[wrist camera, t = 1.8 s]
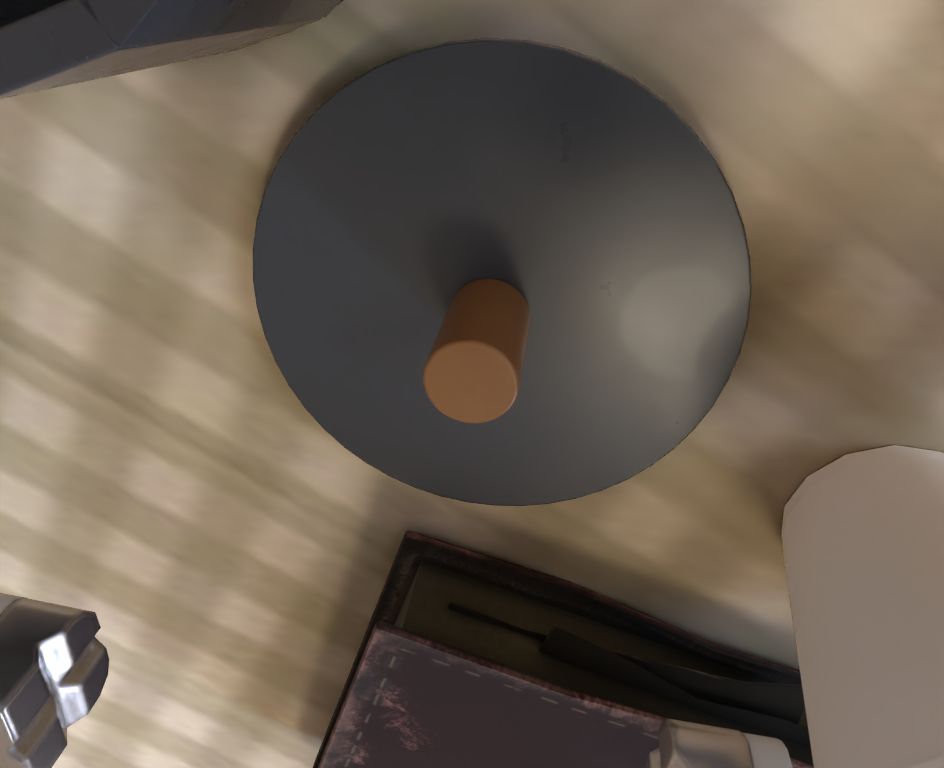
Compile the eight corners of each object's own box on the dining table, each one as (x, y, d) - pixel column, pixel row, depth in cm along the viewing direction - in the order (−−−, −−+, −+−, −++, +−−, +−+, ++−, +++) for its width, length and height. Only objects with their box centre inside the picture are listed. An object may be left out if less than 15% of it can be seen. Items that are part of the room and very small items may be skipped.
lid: (820, 73, 17) (902, 107, 12) (672, 515, 24) (690, 634, 20) (251, 4, 18) (142, 13, 14) (279, 448, 26) (214, 547, 21)
